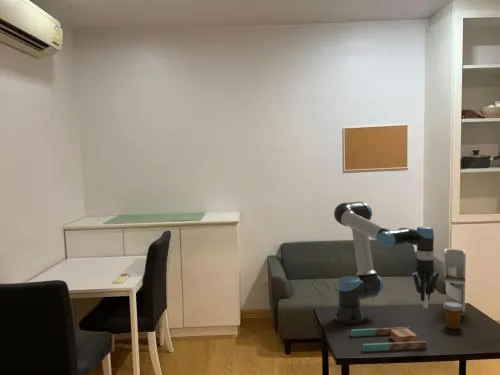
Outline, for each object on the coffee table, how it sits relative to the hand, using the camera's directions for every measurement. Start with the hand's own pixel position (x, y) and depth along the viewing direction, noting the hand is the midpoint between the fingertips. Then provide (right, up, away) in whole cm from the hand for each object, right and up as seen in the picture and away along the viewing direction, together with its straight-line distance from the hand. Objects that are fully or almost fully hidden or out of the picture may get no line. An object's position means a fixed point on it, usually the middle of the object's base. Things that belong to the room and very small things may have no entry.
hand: (425, 307), depth 214 cm
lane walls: (-12, -16, 0) cm, 21 cm away
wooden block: (-10, -17, 0) cm, 20 cm away
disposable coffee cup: (+21, -15, +17) cm, 32 cm away
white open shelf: (+33, -14, +40) cm, 54 cm away
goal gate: (-27, -17, -1) cm, 32 cm away
